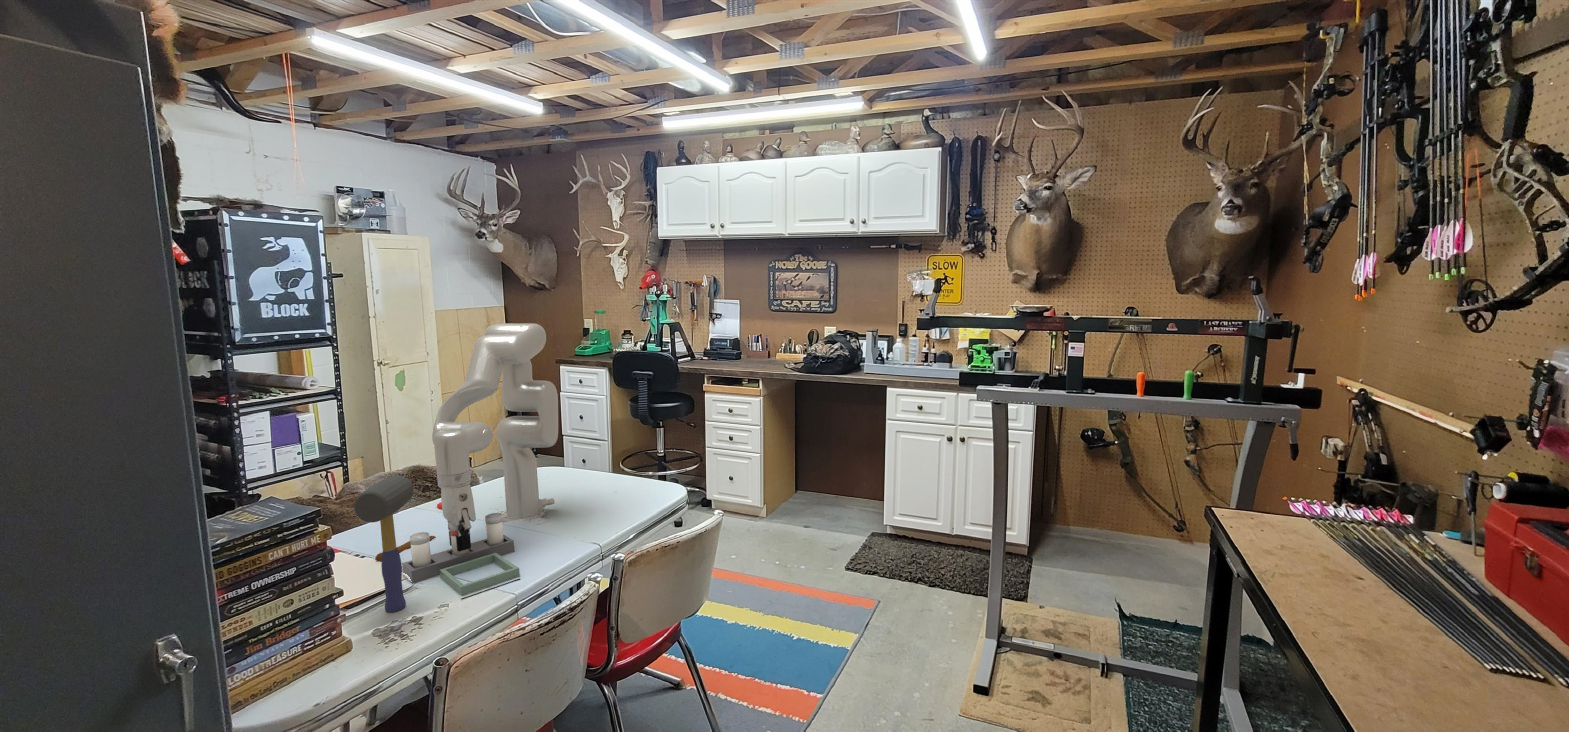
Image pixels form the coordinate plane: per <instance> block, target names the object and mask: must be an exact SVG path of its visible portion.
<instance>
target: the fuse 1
mask: <svg viewBox="0 0 1569 732" xmlns="http://www.w3.org/2000/svg"><path fill="white" fill-rule="evenodd" d="M429 536H430V533H429V532H428V531H423V532H422V531H420V532H416V533H413V534H411V535H409V541H410V544H411V548H410V550H411V552H410V553H411V560H412V563H413V568H414V569H415V568H419V567H422V566H426V565H429V564H431V555H432V553H431V546H430V545H431V543H430V542H431V541H430V537H429Z"/></svg>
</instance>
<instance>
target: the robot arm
mask: <svg viewBox="0 0 1569 732" xmlns="http://www.w3.org/2000/svg"><path fill="white" fill-rule="evenodd" d="M546 342H547V333H546V331H545V329H544V327H543V326H541V324H538V323H531V322H530V323H525V322H524V323H513V322H512V323H507V322H506V323H496V324H495V323H494V324H492V325H490V326H487V328H486V329H485V332H484V335H482V336H480V337H478V338H477V340H476V341H475V343H474V345H473V349H472V353H471V356H470V359H469V364H468V366H467V371H466V374H465V379H464V382H463V383H462V384H461V385H460V386H459V387H458V388H457V389H455V390H454V392H452V393H451V394H450V395H449V396H448V397H447V399H445V400H444V401H443V403H442V404H441V406H440V407H439V408H438V411H437V414H436V418H435V421H434V423H433V428H432V433H431V434H432V436H431V439H432V444H433V445H434V456H435V467H436V475H437V476H436V477H437V478H436V479H437V486H438V488H439V489H440V492H441V494H440V495H441V497H440V498H441V499H440V500H441V502H442V509H441V510H442V515H443V518H445V520H447V529H448V538H449V545H450V547H452V545H451V535H450V528H449V522H451V523H453V524H454V525H456V530H457V536H456V543H457V551H459V552H460V551H463V550H466V549H470V548H471V543H472V541H471V529H472V524H471V522H475V521H476V519H477V517H476V509H475V503H474V502H475V501H474V496H473V491H472V487H471V482H472V474H471V473H472V471H471V462H470V461H471V460H470V454H472V453H477V452H480V451H483V450H485V449H487V448H488V447H489V446H490V444H491V443H492V440H493V436H494V434H493V429H492V428H491V426H490V425H489V424H487V423H485V422H479V421H476V422H475V421H456V420H457V418H459V415H460V414H461V413H462V411H464V410H465V409H467V408H468V407H470V406H471V405H473V404H475V403H477V402H480V401H482V400H485V399H487V398H489V397H491V396H493V395H494V394H496V392H497V391H498V389H499V385H500V381H502V382H501V385H502V387H501V389H502V396H501V397H502V404H503V407H504V408H505V410H507V411H510V412H519V413H520V412H522V413H523V412H524V413H526V412H528V413H529V412H530V413H532V412H533V413H536V412H537V414H538V415H534V416H533V415H531V416H530V415H513V416H508V417H505V418H503V419H501V421H499V423H498V425H497V429H496V430H497V432H496V434H497V439H498V442H499V445H500V447H499V448H500V450H501V456H502V465H503V466H502V467H503V469H502V470H503V477H504V478H503V479H504V480H503V481H504V494H505V495H504V496H505V507H506V508H505V509H506V511H504V512H503V513H501V514H502V516H503V521H502V522H504V523H508V522H521V521H522V522H523V521H527V520H532V519H535V518H543V517H544V516H545V515H546V510H545V507H546V506H552V505H554V504H555V499H554V498H553V497H551V498H547V497H544V498H540V497H539V496H540V495H539V478H538V464H537V462H538V461H537V458H536V455H535V454H534V452H533V450H532V448H534V449H535V448H542V449H543V448H550V447H553V446H554V445H556V443H557V441H558V437H559V397H558V391H557V388H556V385H555V384H554V383H553V382H552V381H549V380H534V379H533V365H532V362H531V359H533V358H535V356H536V355H538V354H539V353H541V352H542V350H543V349H544V347H545V345H546ZM501 376H502V377H501ZM500 379H501V380H500ZM459 521H463V523H459ZM463 525H464V526H463ZM460 526H463V527H462V528H461V530H460Z"/></svg>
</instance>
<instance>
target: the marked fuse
mask: <svg viewBox="0 0 1569 732" xmlns="http://www.w3.org/2000/svg"><path fill="white" fill-rule="evenodd" d="M459 523H463V521H459ZM463 526H464V525H463ZM463 526H460V530H461V528H462V527H463ZM449 528H450V535H451V545H452V546H451V549H452V556H453V557H456V556H459V555H462V554H466V553H469V552H470V549H466V550H463V551H460V552H459V551H457V543H456V536H457V530H456V525H454V524H453V523H451V522H449Z"/></svg>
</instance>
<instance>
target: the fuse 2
mask: <svg viewBox="0 0 1569 732" xmlns="http://www.w3.org/2000/svg"><path fill="white" fill-rule="evenodd" d="M502 514H503V513H502V512H501V513H500V512H493V513H488V514H487V515H485V517H484V520H485V521H484V523H485V528H486V529H485V530H486V539H487V544H488V545H489V546H493V545H496V544H499V543H503V542H504V536H503V534H504V523H503V522H504V521H503V516H502Z"/></svg>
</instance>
